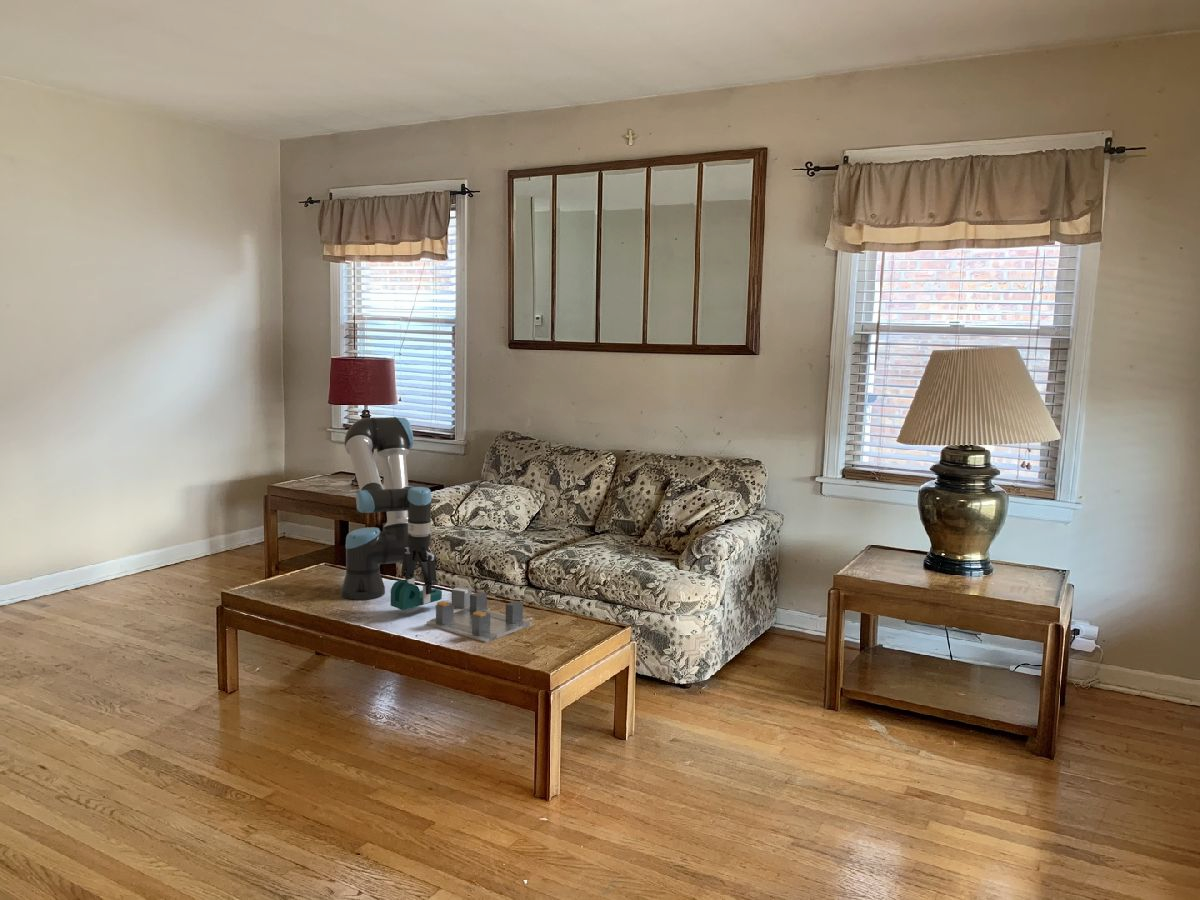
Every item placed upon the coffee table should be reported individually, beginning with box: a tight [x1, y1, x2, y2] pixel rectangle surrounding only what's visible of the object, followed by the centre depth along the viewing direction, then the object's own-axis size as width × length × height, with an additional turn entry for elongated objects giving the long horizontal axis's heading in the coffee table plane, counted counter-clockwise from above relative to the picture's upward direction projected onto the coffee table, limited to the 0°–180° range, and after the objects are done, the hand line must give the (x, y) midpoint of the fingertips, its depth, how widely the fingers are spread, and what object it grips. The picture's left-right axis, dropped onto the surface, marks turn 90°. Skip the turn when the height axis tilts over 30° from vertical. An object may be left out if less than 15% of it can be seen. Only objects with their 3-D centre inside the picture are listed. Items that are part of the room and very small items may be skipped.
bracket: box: [390, 579, 443, 611], centre depth 307 cm, size 18×7×8 cm, turn 140°
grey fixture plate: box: [426, 591, 533, 643], centre depth 296 cm, size 26×22×8 cm
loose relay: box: [451, 586, 473, 610], centre depth 316 cm, size 5×5×6 cm
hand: (418, 600), depth 307 cm, fingers closed on bracket, 7 cm apart
